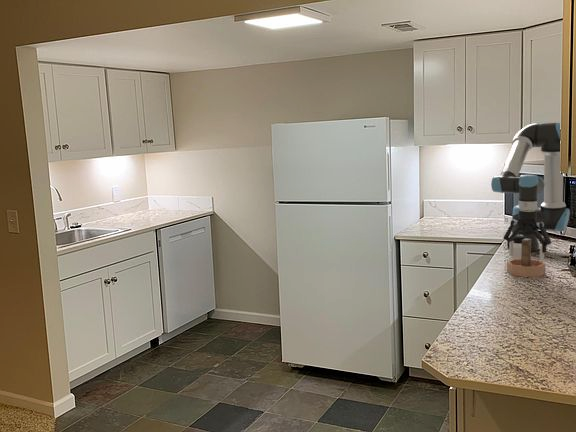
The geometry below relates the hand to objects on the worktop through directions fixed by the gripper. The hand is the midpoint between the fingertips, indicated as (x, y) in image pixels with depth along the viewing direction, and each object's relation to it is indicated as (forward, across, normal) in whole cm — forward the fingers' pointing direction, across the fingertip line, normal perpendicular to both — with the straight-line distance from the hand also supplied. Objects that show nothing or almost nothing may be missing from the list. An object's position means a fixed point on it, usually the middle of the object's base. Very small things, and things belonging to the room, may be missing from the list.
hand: (526, 257), depth 261 cm
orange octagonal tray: (+7, 0, 0) cm, 7 cm away
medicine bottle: (+7, -12, +20) cm, 24 cm away
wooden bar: (+6, 0, 0) cm, 6 cm away
